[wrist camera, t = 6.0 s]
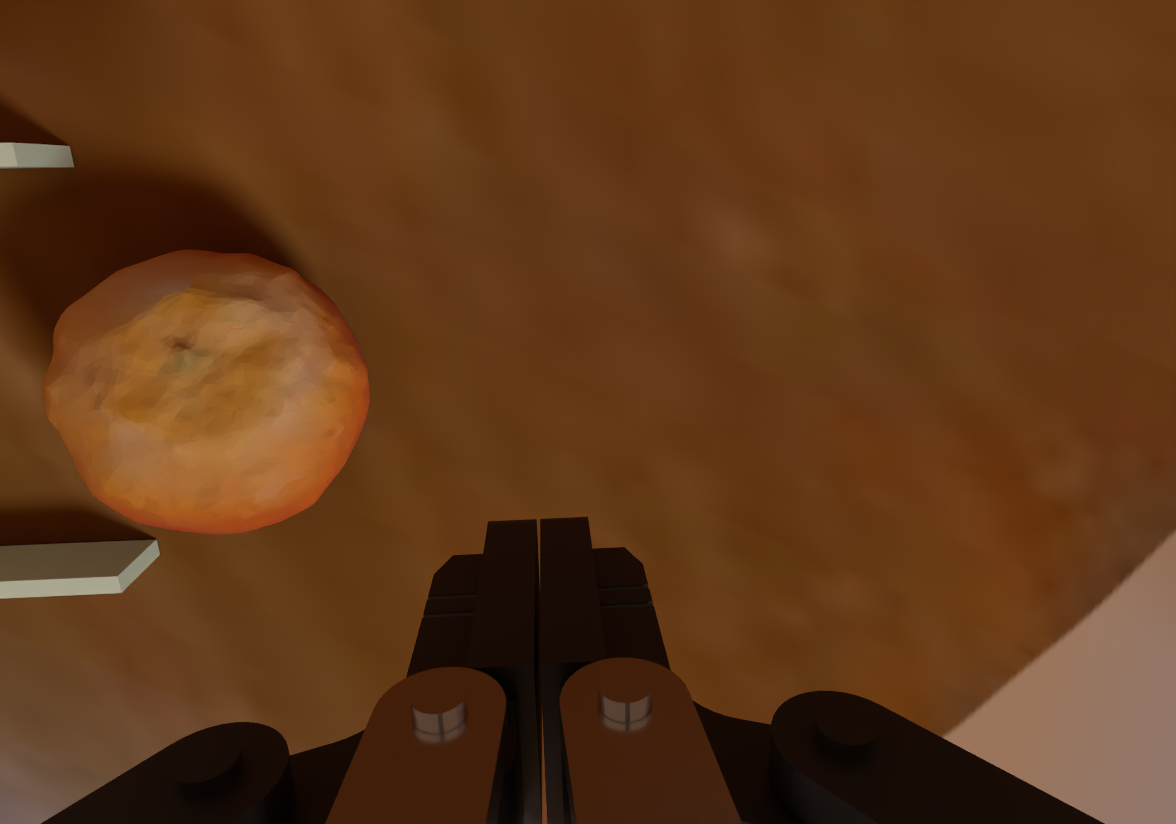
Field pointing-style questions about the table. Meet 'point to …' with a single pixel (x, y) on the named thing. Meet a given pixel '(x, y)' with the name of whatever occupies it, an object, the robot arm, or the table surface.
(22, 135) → the table surface
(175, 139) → the table surface
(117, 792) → the robot arm
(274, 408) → the fruit
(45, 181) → the table surface
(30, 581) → the pale gray u-shaped frame
